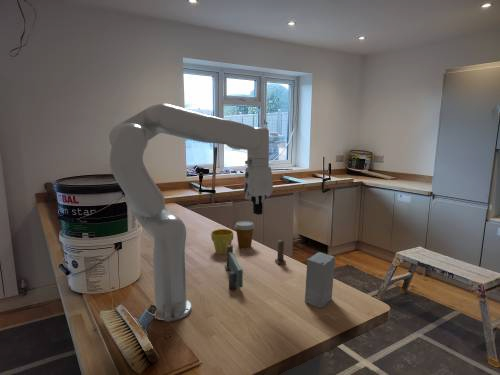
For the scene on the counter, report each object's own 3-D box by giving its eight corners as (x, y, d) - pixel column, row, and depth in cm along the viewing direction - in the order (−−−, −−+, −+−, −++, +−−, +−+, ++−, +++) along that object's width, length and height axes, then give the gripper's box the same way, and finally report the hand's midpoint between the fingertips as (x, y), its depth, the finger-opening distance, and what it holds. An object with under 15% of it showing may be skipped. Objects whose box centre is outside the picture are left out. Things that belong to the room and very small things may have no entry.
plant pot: (219, 257, 147) (219, 237, 146) (207, 251, 155) (207, 231, 153) (237, 252, 154) (237, 232, 152) (225, 246, 162) (225, 227, 160)
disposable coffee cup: (256, 244, 165) (256, 221, 163) (251, 250, 156) (251, 226, 154) (238, 242, 167) (238, 220, 165) (232, 249, 158) (232, 225, 156)
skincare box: (315, 293, 115) (317, 250, 112) (334, 299, 110) (336, 255, 108) (303, 303, 108) (304, 258, 106) (322, 310, 104) (324, 263, 101)
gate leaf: (228, 267, 133) (228, 252, 132) (232, 267, 133) (232, 251, 132) (238, 287, 116) (238, 270, 114) (242, 287, 116) (242, 269, 115)
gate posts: (229, 290, 117) (229, 264, 115) (219, 268, 136) (218, 245, 134) (302, 280, 125) (303, 255, 123) (282, 260, 144) (283, 239, 142)
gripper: (247, 165, 107) (247, 219, 110) (281, 162, 116) (280, 212, 119) (234, 163, 113) (234, 214, 116) (267, 161, 122) (267, 209, 125)
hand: (257, 213), depth 117 cm, fingers closed
